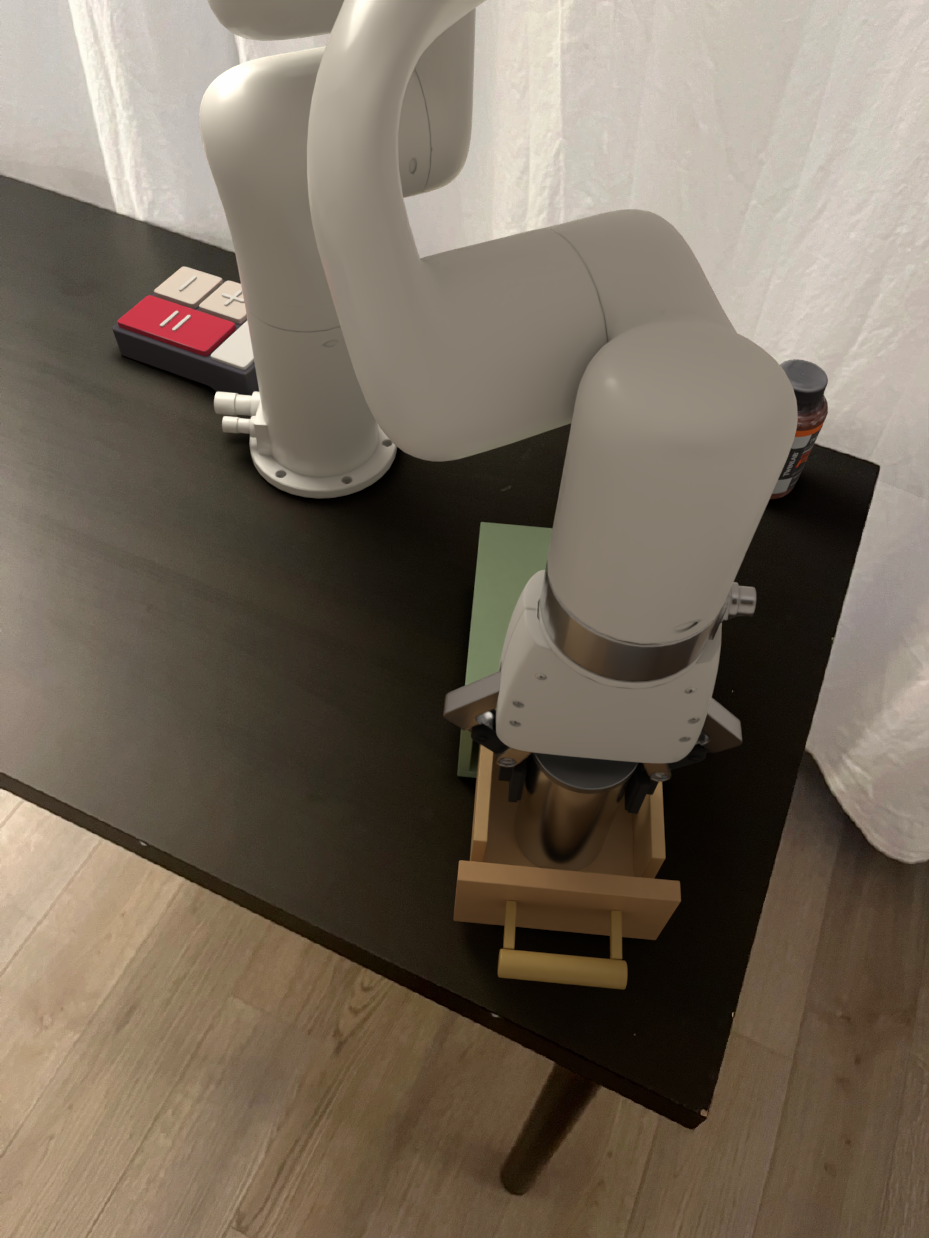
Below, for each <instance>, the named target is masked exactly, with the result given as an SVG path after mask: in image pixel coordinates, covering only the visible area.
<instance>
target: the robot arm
mask: <svg viewBox="0 0 929 1238" xmlns="http://www.w3.org/2000/svg"><path fill="white" fill-rule="evenodd" d="M486 1H487V0H207V2H208V5H209V8H210V10H211V11H212V13H213V14H214V16H215V17H216V19H217V20H218V22H219V23H220V25H222V26H223V27H224V28H225V29H226V30H227V31H229V32H230V33H231V34H233V35H236V36H238V37H240V38H242V39H245V40H250V41H251V40H252V41H258V42H272V41H274V42H275V41H287V40H296V39H303V38H311V37H318V36H324V35H329V36H328V38H327V41H326V44H325V45H324V46H319V47H318V46H317V47H312V48H307V49H302V50H301V49H300V50H296V51H290V52H285V53H278V54H274V55H272V54H271V55H267V56H262V57H259V58H255V59H251V60H248V61H245V62H242V63H240V64H237V65H235V66H232V67H231V68H228V69H227V70H225V71H224V72H221V74H219V75H218V76H217V77H216V78H214V79H213V81H212V82H210V84H209V85H208V87H207V88H206V90H205V92H204V94H203V96H202V98H201V100H200V101H201V102H200V105H199V111H198V125H199V126H198V127H199V132H200V138H201V144H202V147H203V150H204V154H205V158H206V161H207V164H208V167H209V170H210V173H211V176H212V179H213V182H214V185H215V188H216V190H217V193H218V196H219V200H220V202H221V205H222V208H223V211H224V215H225V218H226V221H227V225H228V229H229V232H230V233H229V234H230V236H231V241H232V245H233V249H234V250H233V251H234V255H235V258H236V260H235V261H236V265H237V269H238V275H239V280H240V284H241V287H242V293H243V299H244V303H245V309H246V315H247V321H248V327H249V333H250V339H251V345H252V351H253V357H254V363H255V369H256V375H257V381H258V387H259V392H256V391H254V392H253V394H252V396H249V395H239V394H238V393H229V392H216V391H215V395H214V397H213V398H214V399H213V409H214V413H215V414H216V415H221V416H222V421H221V431H222V433H227V434H228V433H229V434H247V435H249V443H248V444H249V450H250V451H249V452H250V456H251V460H252V463H253V466H254V468H255V469H256V470H257V472H258V473H259V475H260V476H261V477H262V478H263V479H264V480H265V481H266V482H267V483H269V484H270V485H271V486H273V487H275V488H276V489H278V490H280V491H283V492H285V493H287V494H290V495H294V496H299V497H301V498H310V499H335V498H338V497H339V498H341V497H344V496H345V497H346V496H348V495H352V494H354V493H358V492H360V491H362V490H365V489H366V488H368V487H370V486H372V485H373V484H375V483H376V482H377V481H379V480H380V479H381V478H382V477H383V476H384V475H385V474H386V473H387V472H388V471H389V470H390V469H391V467H392V464H393V462H394V460H395V459H396V455H397V450H398V449H399V450H401V451H402V452H403V453H405V454H407V455H409V456H411V457H413V458H417V459H419V460H422V461H429V462H439V463H440V462H441V463H442V462H449V461H456V460H461V459H464V458H465V459H466V458H469V457H472V456H475V455H478V454H482V453H485V452H489V451H491V450H495V449H499V448H501V447H505V446H507V445H511V444H514V443H517V442H521V441H524V440H526V439H529V438H532V437H535V436H537V435H540V434H544V433H546V432H549V431H551V430H552V431H553V430H555V429H558V428H561V427H564V426H567V425H570V430H569V435H568V440H567V447H566V451H565V457H564V463H563V469H562V474H561V479H560V484H559V485H560V486H559V490H558V497H557V503H556V506H555V507H556V508H555V512H554V518H553V524H552V528H553V529H552V534H551V541H550V546H549V552H548V557H547V563H546V569H545V570H541V571H538V572H537V573H536V574H534V575H533V576H532V577H531V578H530V580H529V581H528V583H527V584H526V586H525V588H524V589H523V591H522V593H521V595H520V597H519V599H518V601H517V604H516V606H515V608H514V611H513V614H512V617H511V620H510V623H509V626H508V630H507V633H506V637H505V641H504V645H503V650H502V655H501V659H500V665H499V672H496V673H494V674H491V675H489V676H487V677H484V678H482V679H480V680H477V681H475V682H473V683H470V684H468V685H465V684H464V685H462V686H461V687H458V688H455V689H454V690H451V691H448V692H447V693H446V694H445V696H444V702H443V711H442V717H443V719H444V720H446V721H447V722H449V723H451V724H453V726H456V727H458V728H459V729H460V730H461V729H462V730H464V731H465V730H468V731H469V732H471V738H472V739H473V740H474V741H476V742H477V743H479V744H481V745H482V746H484V747H486V748H487V749H489V750H490V751H492V752H494V753H495V754H497V760H496V762H497V764H498V765H499V769H498V780H499V781H509V793H508V802H516V803H517V800H520V801H521V796H522V792H523V787H524V782H525V777H526V771H527V757H528V756H529V755H530V754H531V753H532V752H535V753H543V754H553V755H562V756H573V757H583V758H593V759H605V760H616V761H628V762H639V763H638V765H637V767H636V769H635V771H634V773H633V774H632V775H631V777H630V780H629V782H628V785H627V787H626V790H625V792H624V797H625V810H626V811H628V813H633V814H638V812H639V810H640V808H641V805H642V803H643V801H644V799H645V796H646V794H648V795H653V793H654V791H655V789H656V787H657V785H658V783H659V782H662V783H663V782H667V781H670V780H671V779H672V771H673V770H676V769H680V768H682V767H686V766H690V765H693V764H697V763H701V762H702V761H704V760H706V757H707V754H709V753H710V754H712V755H714V754H718V753H721V752H724V751H727V750H731V749H733V748H736V747H740V746H741V745H742V744H743V734H742V723H741V720H740V719H739V718H738V717H737V716H735V715H734V713H732V712H730V711H729V710H728V709H727V708H725V707H724V706H723V705H722V704H721V703H720V702H718V701H717V700H716V699H715V698H713V694H714V689H715V685H716V680H717V675H718V671H719V665H720V656H721V647H722V627H723V623H725V622H726V621H728V620H734V619H735V618H736V617H745V618H752V617H753V616H754V614H755V610H756V605H757V590H756V588H755V587H754V586H747V585H739V583H738V582H737V581H735V580H736V577H737V575H738V573H739V571H740V568H741V565H742V563H743V561H744V559H745V557H746V554H747V551H748V549H749V547H750V545H751V542H752V541H753V538H754V536H755V533H756V531H757V529H758V526H759V524H760V522H761V519H762V518H763V515H764V513H765V511H766V508H767V506H768V504H769V501H770V500H769V499H770V497H771V495H772V492H773V490H774V488H775V485H776V483H777V481H778V479H779V476H780V474H781V472H782V469H783V467H784V465H785V463H786V460H787V458H788V455H789V452H790V449H791V447H792V444H793V441H794V438H795V433H796V429H797V421H798V415H797V400H796V397H795V393H794V390H793V387H792V385H791V383H790V380H789V379H788V377H787V375H786V373H785V371H784V370H783V368H782V367H781V366H780V363H779V362H778V360H776V359H775V358H774V357H773V356H772V355H771V354H770V353H769V352H768V351H766V350H765V349H764V348H762V346H760V345H758V344H757V343H756V342H754V341H752V340H751V339H749V338H748V337H745V336H744V335H742V334H740V333H738V332H737V330H736V328H735V327H734V324H733V323H732V321H731V320H730V318H729V316H728V314H727V313H726V312H725V309H724V308H723V305H722V304H721V302H720V300H719V299H718V297H717V295H716V293H715V291H714V289H713V287H712V285H711V284H710V282H709V280H708V277H707V276H706V274H705V272H704V270H703V268H702V265H701V263H700V261H699V260H698V258H697V257H696V255H695V253H694V252H693V251H694V250H692V248H691V246H690V245H689V244H688V242H687V240H686V239H685V238H684V236H683V235H682V234H681V233H680V232H679V230H678V229H677V228H676V227H675V226H674V225H673V224H672V223H671V222H669V221H668V220H667V219H666V218H665V217H663V216H661V215H659V214H657V213H655V212H652V211H649V210H644V209H638V208H629V209H616V210H612V211H611V210H610V211H605V212H602V213H598V214H594V215H590V216H586V217H585V216H584V217H582V218H579V219H578V218H577V219H574V220H570V221H566V222H562V223H558V224H554V225H551V226H547V227H542V228H541V227H540V228H536V229H531V230H526V231H523V232H518V233H514V234H510V235H507V236H503V237H498V238H494V239H490V240H487V241H486V240H485V241H483V242H478V243H474V244H471V245H465V246H463V247H458V248H454V249H450V250H446V251H442V252H438V253H434V254H430V255H426V256H423V257H420V253H419V250H418V247H417V244H416V240H415V237H414V234H413V230H412V227H411V223H410V220H409V216H408V212H407V211H408V210H407V208H406V204H405V200H404V199H406V198H410V197H415V196H417V195H421V194H425V193H426V194H427V193H429V192H433V191H436V190H440V189H442V188H444V187H445V186H447V185H449V184H450V183H452V182H453V181H455V179H456V178H457V177H458V176H459V175H460V173H461V172H462V170H463V168H464V166H465V164H466V162H467V159H468V155H469V151H470V145H471V139H472V130H473V129H472V128H473V109H474V82H475V81H474V80H475V79H474V77H475V50H476V49H475V48H476V47H475V46H476V45H475V44H476V13H477V12H476V11H477V7H479V6H480V5H482V4H483V3H485V2H486ZM238 416H247V417H250V418H243V417H242V418H241V417H238ZM495 709H496V710H495Z"/></svg>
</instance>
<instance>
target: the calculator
mask: <svg viewBox="0 0 929 1238" xmlns="http://www.w3.org/2000/svg"><path fill="white" fill-rule="evenodd" d="M112 332H113V335H114V338H115V341H116V344H117V347H118V350H119V352H120V355H121V356H124V357H126V358H129V359H132V360H134V361H138V362H141V363H143V364H146V365H149V366H152V367H155V368H158V369H159V370H163V371H165V372H169V373H171V374H174V375H177V376H180V377H183V378H185V379H188V380H191V381H194V382H197V383H200V384H202V385H205V386H208V387H210V388H211V389H212V390H213V391H215V393H216V392H229V393H238V394H239V395H249V396H252V394H253V392H254V391H256V392H259V387H258V381H257V375H256V369H255V363H254V357H253V351H252V345H251V339H250V333H249V327H248V321H247V315H246V309H245V303H244V299H243V293H242V287H241V283H239V282H236V281H233V280H224V279H223V278H222V277H220V276H218V275H214V274H210V273H207V272H204V271H201V270H197V269H194V268H191V267H189V266H181V267H180V268H179V269H178V270H176V271H175V272H174V273H173V274H171V276H169V277H167V279H165V280H164V281H163V282H162V283H161V284H159V285H158V286H157V287H156V288H155V289H154V290H153V292H152V293H151V294H148V295H146V296H145V297H144V298H142V299H141V300H140V301H139V302H138V303H137V304H135V305H134V306H133V307H132V308H130V309H129V310H128V311H127V312H126V313H125V314H123V315H122V316H121V317H119V318H118V319H117V321H116V323H115V324H114V325H113V326H112Z"/></svg>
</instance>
